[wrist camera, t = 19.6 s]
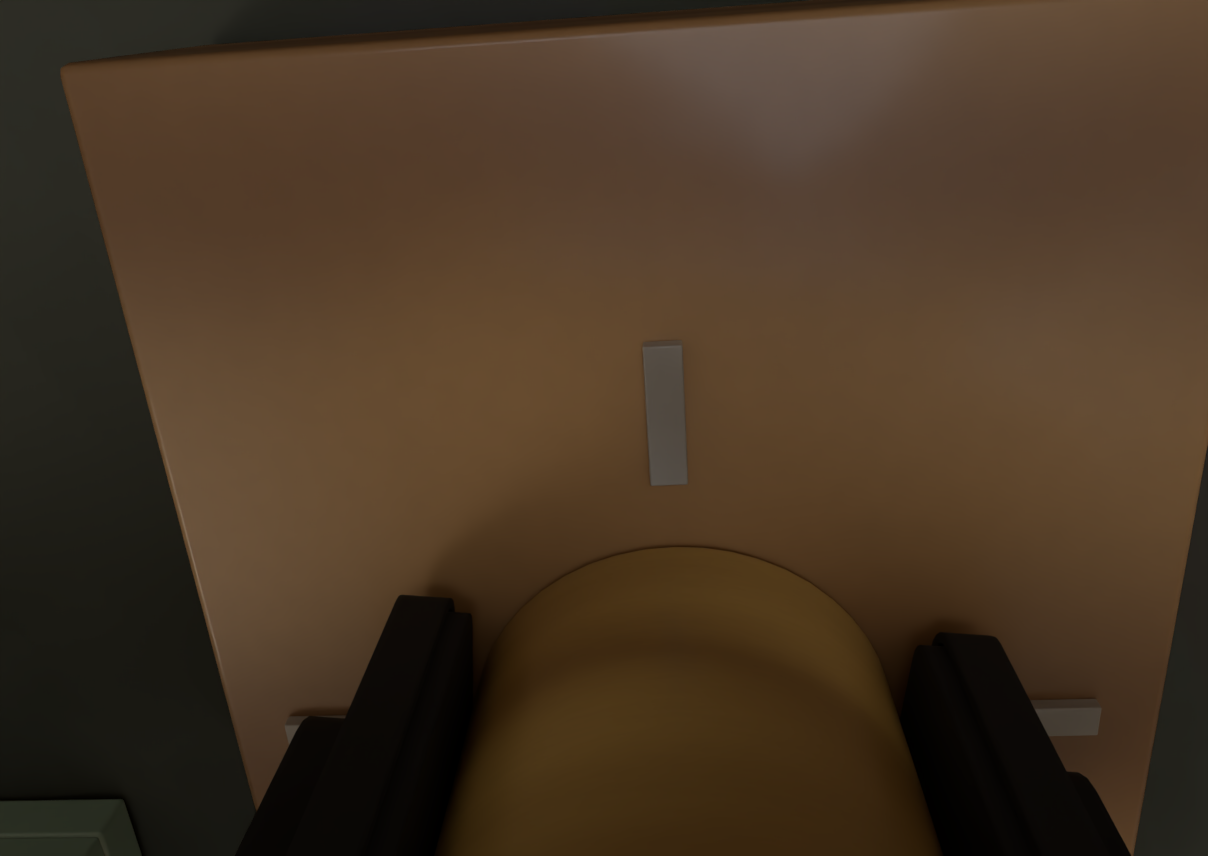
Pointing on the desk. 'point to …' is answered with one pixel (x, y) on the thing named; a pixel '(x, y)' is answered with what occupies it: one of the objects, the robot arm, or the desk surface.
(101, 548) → the desk surface
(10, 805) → the green open box
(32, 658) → the desk surface
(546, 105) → the wooden knob base
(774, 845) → the rotary knob
